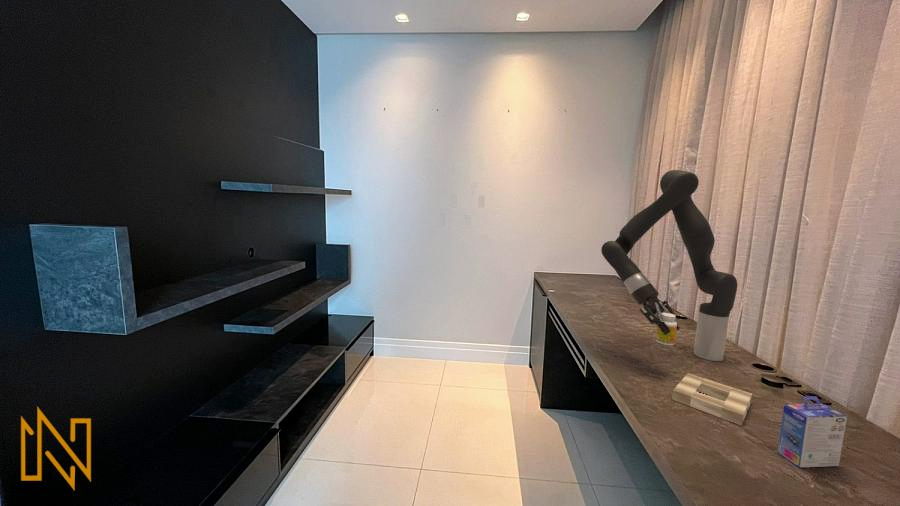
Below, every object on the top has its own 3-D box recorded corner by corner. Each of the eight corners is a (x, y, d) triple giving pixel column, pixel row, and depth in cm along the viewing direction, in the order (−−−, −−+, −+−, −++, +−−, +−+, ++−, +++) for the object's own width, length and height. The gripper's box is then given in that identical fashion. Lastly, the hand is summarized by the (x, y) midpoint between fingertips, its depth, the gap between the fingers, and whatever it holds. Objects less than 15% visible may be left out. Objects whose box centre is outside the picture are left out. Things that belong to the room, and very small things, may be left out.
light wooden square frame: (686, 381, 113) (687, 373, 112) (750, 403, 101) (752, 393, 101) (671, 399, 102) (673, 389, 101) (741, 425, 90) (743, 415, 90)
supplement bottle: (657, 343, 114) (660, 315, 113) (654, 338, 119) (657, 311, 118) (676, 346, 112) (679, 318, 111) (672, 340, 117) (676, 313, 116)
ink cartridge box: (812, 449, 82) (823, 393, 80) (840, 467, 76) (852, 406, 74) (774, 450, 81) (784, 393, 79) (799, 468, 76) (811, 407, 74)
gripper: (637, 284, 115) (671, 330, 107) (659, 280, 123) (693, 323, 115) (620, 296, 120) (651, 340, 112) (643, 291, 128) (674, 332, 120)
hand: (672, 331), depth 113 cm, fingers closed on supplement bottle, 5 cm apart
